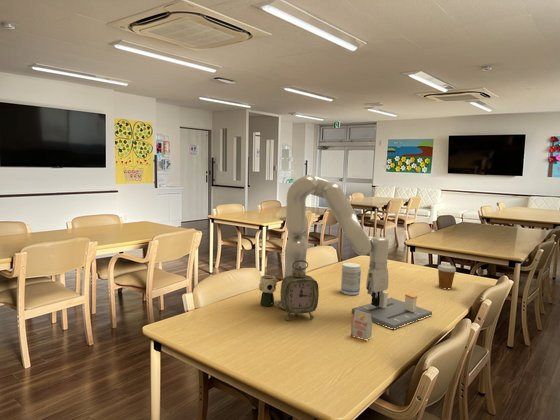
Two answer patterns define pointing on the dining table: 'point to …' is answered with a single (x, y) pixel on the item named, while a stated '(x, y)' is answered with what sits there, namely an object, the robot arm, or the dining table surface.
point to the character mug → (267, 289)
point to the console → (393, 313)
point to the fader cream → (383, 299)
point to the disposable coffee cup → (446, 275)
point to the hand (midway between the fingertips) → (375, 305)
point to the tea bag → (361, 325)
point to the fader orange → (410, 302)
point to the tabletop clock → (299, 293)
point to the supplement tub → (350, 278)
